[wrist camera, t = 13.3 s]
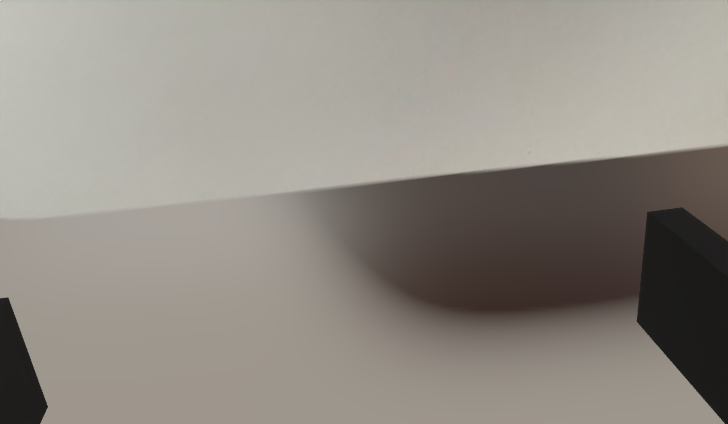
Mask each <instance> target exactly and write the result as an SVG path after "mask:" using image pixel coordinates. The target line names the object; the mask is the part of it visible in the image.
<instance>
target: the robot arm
mask: <svg viewBox="0 0 728 424" xmlns="http://www.w3.org/2000/svg"><path fill="white" fill-rule="evenodd" d="M644 243H645V244H644V254H643V263H642V274H641V284H640V295H639V306H638V316H637V322H638V323H639V325H640V326H641V327H642V328H643V329H644V330H645V332H646V333H647V334H648V335H649V336H650V337H651V338H652V340H653V341H654V342H655V343H656V344H657V345H658V347H659V348H660V349H661V350H662V351H663V352H664V354H666V356H667V357H668V358H669V359H670V361H671V362H672V363H673V364H674V365H675V366H676V367H677V369H678V370H679V371H680V372H681V373H682V374H683V375H684V376H685V378H686V379H687V380H688V381H689V382H690V384H691V385H692V386H693V387H694V388H695V389H696V391H697V392H698V393H699V394H700V395H701V396H702V397H703V399H704V400H705V401H706V402H707V403H708V404H709V406H711V408H712V409H713V410H714V411H715V413H716V414H717V415H718V416H719V417H720V418H721V419H722V421H723V422H724V423H725V424H728V241H727V240H725V239H724V238H722V237H721V236H720V235H719V234H717V233H716V232H714V231H713V230H712V229H710V228H709V227H708V226H706V225H705V224H704V223H702V222H701V221H700V220H698V219H697V218H696V217H694V216H693V215H692V214H690V213H689V212H688V211H686V210H685V209H683V208H675V209H668V210H660V211H652V212H647V222H646V233H645V242H644ZM47 408H48V406H47V403H46V400H45V398H44V395H43V392H42V389H41V387H40V384H39V381H38V378H37V376H36V373H35V370H34V367H33V365H32V362H31V359H30V356H29V353H28V351H27V348H26V345H25V342H24V340H23V337H22V334H21V331H20V329H19V326H18V323H17V320H16V318H15V315H14V312H13V309H12V307H11V304H10V301H9V298H0V424H40V423H41V421H42V419H43V416H44V414H45V412H46V410H47Z"/></svg>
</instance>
